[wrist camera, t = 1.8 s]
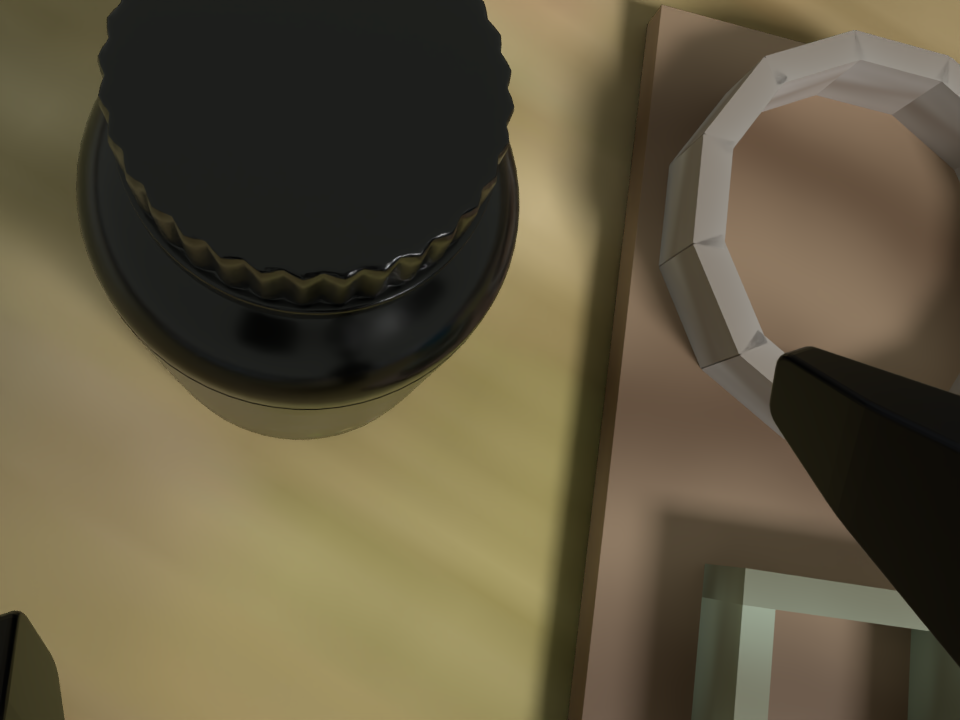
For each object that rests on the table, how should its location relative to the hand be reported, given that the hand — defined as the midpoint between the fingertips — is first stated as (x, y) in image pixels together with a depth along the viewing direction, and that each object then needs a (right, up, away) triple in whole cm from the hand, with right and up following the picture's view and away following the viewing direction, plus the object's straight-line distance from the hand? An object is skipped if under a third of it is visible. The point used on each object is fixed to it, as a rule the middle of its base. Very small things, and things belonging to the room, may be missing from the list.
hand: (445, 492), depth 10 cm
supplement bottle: (-4, +3, +12) cm, 13 cm away
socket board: (+9, -2, +14) cm, 17 cm away
